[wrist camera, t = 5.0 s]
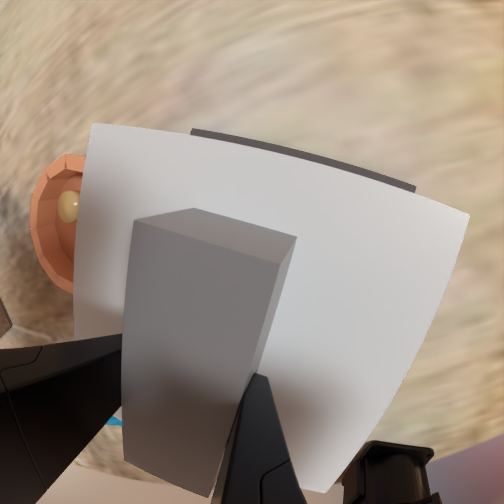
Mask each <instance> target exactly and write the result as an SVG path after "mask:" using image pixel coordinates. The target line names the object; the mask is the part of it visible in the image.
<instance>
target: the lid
mask: <svg viewBox="0 0 504 504" xmlns="http://www.w3.org/2000/svg"><path fill="white" fill-rule="evenodd" d="M469 217H470V215H469V214H466V213H464V212H462V211H459V210H457V209H454V208H452V207H449V206H447V205H444V204H441V203H439V202H436V201H434V200H431V199H428V198H426V197H423V196H420V195H417V194H415V193H412V192H409V191H406V190H403V189H400V188H397V187H395V186H392V185H389V184H386V183H383V182H379V181H376V180H373V179H370V178H367V177H364V176H361V175H357V174H354V173H351V172H347V171H344V170H340V169H337V168H334V167H330V166H326V165H323V164H319V163H315V162H312V161H308V160H304V159H300V158H296V157H292V156H288V155H284V154H280V153H276V152H272V151H267V150H263V149H259V148H254V147H250V146H245V145H240V144H235V143H230V142H225V141H220V140H215V139H210V138H204V137H198V136H193V135H187V134H181V133H174V132H168V131H161V130H154V129H147V128H139V127H131V126H122V125H113V124H103V123H92V128H91V133H90V137H89V142H88V147H87V153H86V158H85V164H84V170H83V176H82V183H81V190H80V198H79V206H78V215H77V226H76V238H75V253H74V277H73V320H74V341H77V340H83V339H89V338H96V337H102V336H108V335H114V334H120V333H122V362H121V407H120V408H119V409H118V410H117V411H116V413H115V414H114V415H113V416H114V417H115V418H117V419H119V420H121V421H122V434H123V450H124V460H125V461H127V462H129V463H130V464H132V465H134V466H136V467H138V468H140V469H142V470H144V471H146V472H148V473H150V474H152V475H154V476H156V477H158V478H161V479H163V480H165V481H167V482H169V483H172V484H174V485H176V486H179V487H181V488H183V489H186V490H188V491H191V492H193V493H196V494H199V495H201V496H204V497H207V498H208V497H209V495H210V493H211V490H212V488H213V486H214V484H215V482H216V480H217V478H218V475H219V471H220V467H221V463H222V460H223V456H224V452H225V448H226V445H227V442H228V439H229V436H230V433H231V430H232V427H233V424H234V420H235V417H236V414H237V411H238V408H239V405H240V402H241V399H242V396H243V394H244V392H245V390H246V388H247V386H248V384H249V382H250V380H251V378H252V376H253V374H254V373H258V374H261V375H264V376H267V377H268V379H269V383H270V386H271V390H272V394H273V397H274V401H275V404H276V408H277V412H278V415H279V419H280V422H281V426H282V429H283V433H284V436H285V440H286V443H287V447H288V450H289V454H290V457H291V461H292V464H293V467H294V471H295V474H296V477H297V480H298V483H299V486H300V488H301V489H305V490H309V491H314V492H319V493H326V492H327V491H328V490H329V489H330V487H331V486H332V485H333V484H334V482H335V481H336V480H337V479H338V477H339V476H340V475H341V474H342V472H343V471H344V470H345V468H346V467H347V466H348V464H349V463H350V462H351V460H352V459H353V458H354V456H355V455H356V454H357V452H358V451H359V449H360V448H361V447H362V445H363V444H364V442H365V441H366V439H367V438H368V436H369V435H370V433H371V432H372V430H373V429H374V427H375V426H376V424H377V423H378V421H379V420H380V418H381V417H382V415H383V413H384V412H385V410H386V409H387V407H388V405H389V404H390V402H391V400H392V399H393V397H394V395H395V393H396V392H397V390H398V388H399V386H400V385H401V383H402V381H403V379H404V378H405V376H406V374H407V372H408V370H409V368H410V366H411V364H412V362H413V361H414V359H415V357H416V355H417V353H418V351H419V349H420V347H421V345H422V342H423V340H424V338H425V336H426V334H427V332H428V330H429V328H430V325H431V323H432V321H433V319H434V316H435V314H436V312H437V309H438V307H439V304H440V302H441V300H442V297H443V295H444V292H445V290H446V287H447V284H448V282H449V279H450V276H451V274H452V271H453V268H454V265H455V262H456V259H457V256H458V253H459V250H460V247H461V244H462V241H463V238H464V234H465V231H466V228H467V224H468V221H469Z"/></svg>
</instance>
